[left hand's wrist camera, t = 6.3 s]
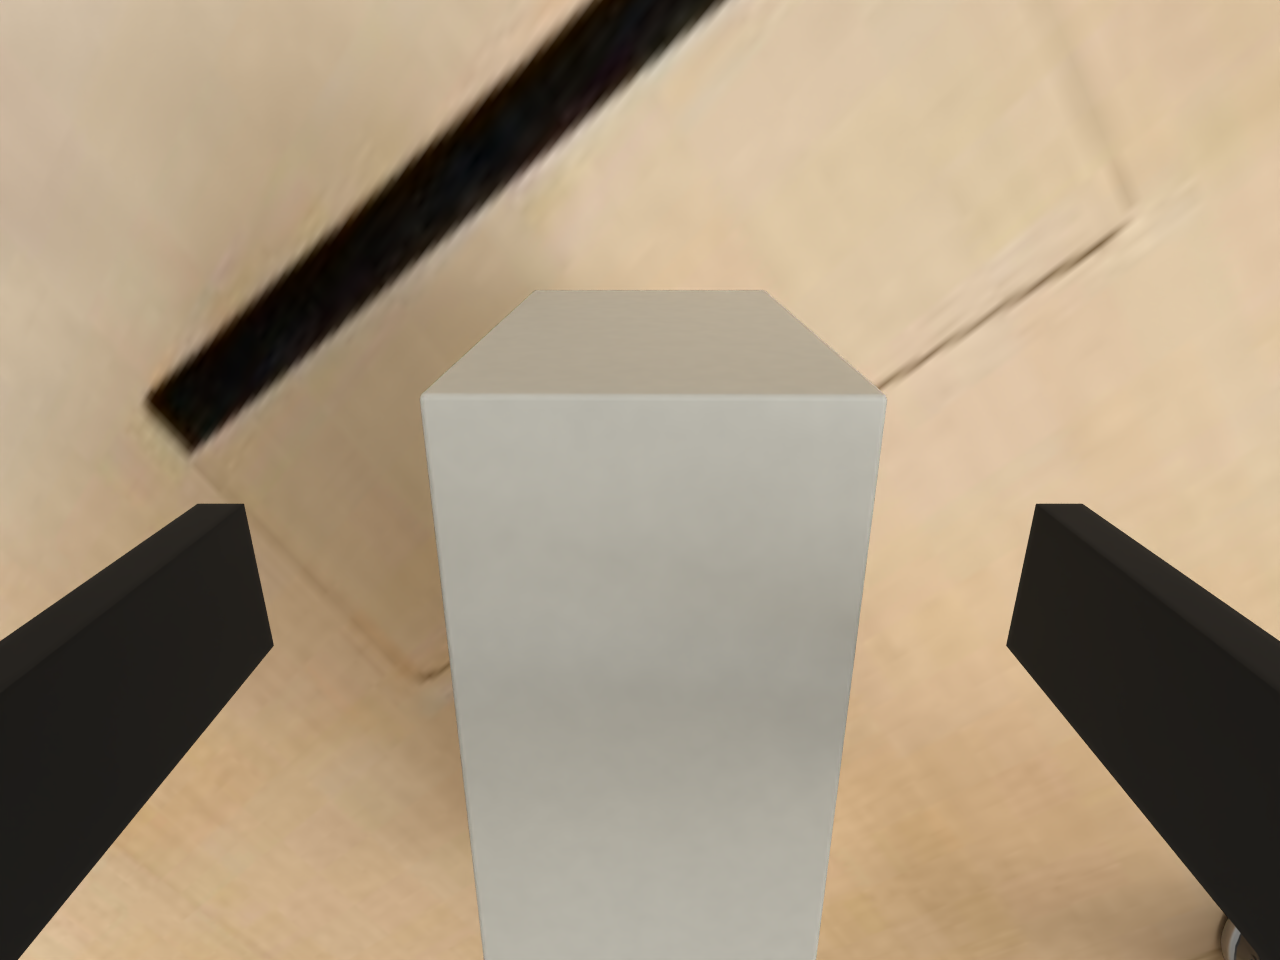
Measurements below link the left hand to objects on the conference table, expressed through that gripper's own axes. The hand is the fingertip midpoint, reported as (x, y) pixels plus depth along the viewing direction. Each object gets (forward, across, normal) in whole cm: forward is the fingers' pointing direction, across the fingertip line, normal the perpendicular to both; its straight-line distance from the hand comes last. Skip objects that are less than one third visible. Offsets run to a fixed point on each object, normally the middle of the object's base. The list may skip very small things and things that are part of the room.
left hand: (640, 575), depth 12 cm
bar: (+7, 0, -8) cm, 11 cm away
